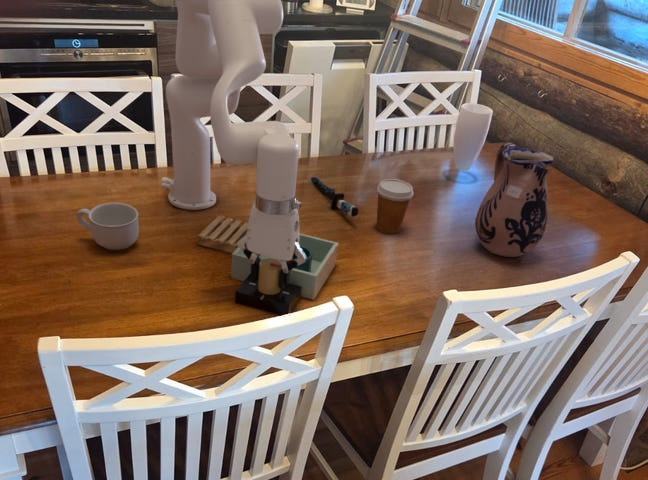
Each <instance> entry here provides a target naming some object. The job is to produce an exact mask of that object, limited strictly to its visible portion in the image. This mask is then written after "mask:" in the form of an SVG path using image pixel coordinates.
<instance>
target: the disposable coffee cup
mask: <svg viewBox="0 0 648 480" xmlns="http://www.w3.org/2000/svg"><path fill="white" fill-rule="evenodd" d="M376 191H377V205H376V206H377V209H376V210H377V211H376V229H377V230H378V231H380V232H382V233H385V234H397V233H399V232H400V230H401V227H402V225H403V222H404V219H405V216H406V213H407V210H408V208H409V205H410V201H411V199H412V198H413V196H414V194H415V193H414V190H413V185H411V184H410V183H408V182H406V181H404V180H401V179H396V178H387V179H382V180H381V181H380V182H379V183H378V185H377V187H376Z"/></svg>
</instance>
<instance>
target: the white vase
mask: <svg viewBox="0 0 648 480" xmlns="http://www.w3.org/2000/svg"><path fill="white" fill-rule="evenodd" d="M493 113H494V111H493V109H492V108H491V107H489V106H486V105H485V104H481V103H474V102H473V103H472V102H465V103H463V104H461V105H460V109H459V112H458V115H457V119H456V123H455V129H454V133H453V143H452V144H453V147H452V155H453V157H452V158H453V165H454V168H455V169H457V170H460V171H463V172H464V171H465V172H466V171H469V170H470V169H471V167H473V165H474V164H475V162H476V161H477V159H478V157H479V155H480V153H481V151H482V149H483V147H484V144H485V143H486V139H487V135H488V132H489V130H490V126H491V121H492V117H493Z"/></svg>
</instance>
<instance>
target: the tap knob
mask: <svg viewBox="0 0 648 480" xmlns="http://www.w3.org/2000/svg"><path fill="white" fill-rule="evenodd" d="M281 271H282V265H281V262H280V261H279V260H277V259H272V258H267V259H263V260H261V261H260V262H259V277H258V290H259V291H260V292H261V293H263V294H267V295H274V294H277V293H279V292H280V290H281V289H280V288H279V281H280V272H281Z"/></svg>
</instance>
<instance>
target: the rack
mask: <svg viewBox="0 0 648 480" xmlns="http://www.w3.org/2000/svg"><path fill="white" fill-rule="evenodd" d="M248 222H249V221H248ZM248 222H247V221H245V223H244V224H243V220H239V219H236V220H235V222H234V218H232V217H227V218H226V219H225V216H224V215H218V216H217V217H215V219H213V221H211V223H209V225H208V226H206V227H205V228H204V229H203V230H202V231H200V233H199V234H198V235H197V245H199V246H202V247H207V248H210V249H215V250H217V251H222V252H225V253H230V254H232V253H233V252H234V251H235V250H236V249H237V248H238V247H239V246H238V245H237V242H238V241H239V240H240V239H241V238H242V237H243V236H245V235H246V234H247V228H248Z"/></svg>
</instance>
